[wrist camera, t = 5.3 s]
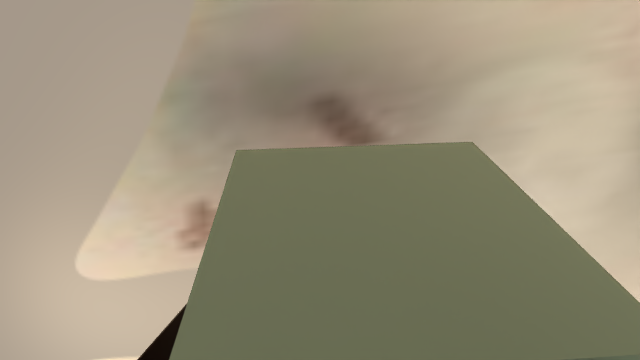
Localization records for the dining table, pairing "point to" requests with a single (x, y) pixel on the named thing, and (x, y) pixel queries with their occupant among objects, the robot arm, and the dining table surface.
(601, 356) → the sage cube
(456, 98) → the dining table surface
